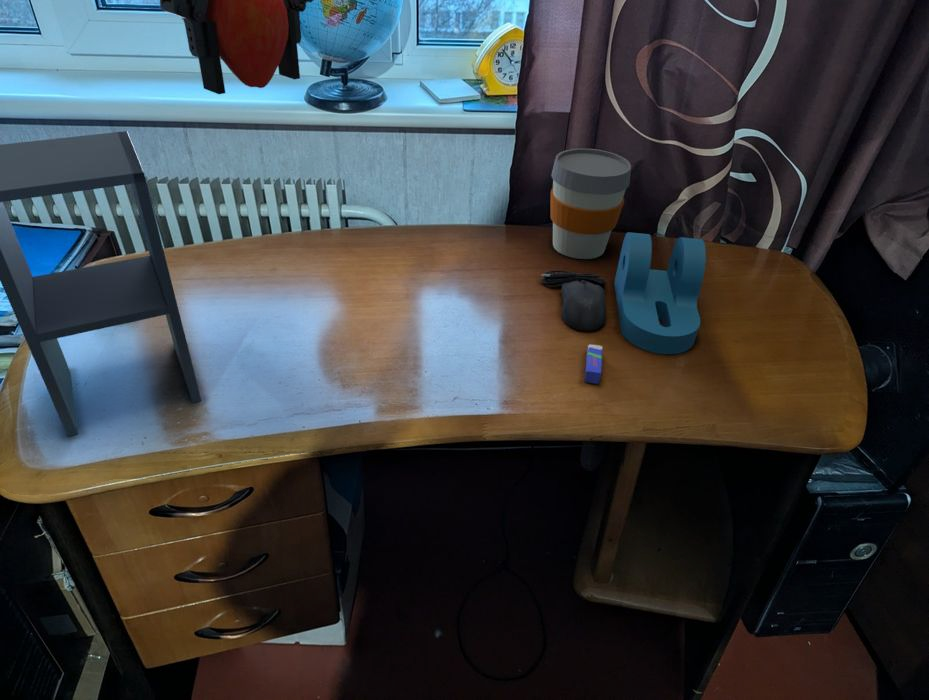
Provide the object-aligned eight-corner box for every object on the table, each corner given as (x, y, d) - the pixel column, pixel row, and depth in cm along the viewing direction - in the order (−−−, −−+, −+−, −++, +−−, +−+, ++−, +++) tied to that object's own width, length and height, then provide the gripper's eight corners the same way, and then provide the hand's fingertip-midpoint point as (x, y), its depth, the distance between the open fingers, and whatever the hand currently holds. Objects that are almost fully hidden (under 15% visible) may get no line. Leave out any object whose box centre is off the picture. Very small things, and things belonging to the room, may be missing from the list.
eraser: (601, 357, 88) (603, 345, 87) (599, 385, 83) (601, 372, 82) (586, 355, 88) (588, 343, 87) (583, 382, 84) (585, 370, 82)
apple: (195, 84, 69) (174, -35, 63) (265, 72, 74) (251, -39, 68) (241, 102, 65) (223, -23, 58) (311, 88, 70) (302, -28, 64)
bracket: (614, 282, 104) (627, 221, 98) (681, 289, 103) (699, 228, 97) (622, 349, 90) (638, 283, 83) (700, 358, 89) (722, 292, 83)
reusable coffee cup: (630, 250, 113) (649, 166, 104) (581, 272, 106) (597, 183, 97) (575, 223, 120) (589, 142, 112) (527, 242, 114) (537, 157, 105)
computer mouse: (549, 331, 92) (553, 308, 90) (539, 278, 104) (542, 257, 102) (621, 334, 93) (626, 311, 90) (602, 280, 104) (607, 259, 102)
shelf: (201, 400, 77) (143, 171, 61) (67, 437, 72) (-37, 195, 55) (182, 345, 86) (127, 130, 69) (61, 374, 80) (-32, 147, 63)
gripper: (291, -184, 65) (311, 61, 78) (67, -209, 51) (138, 93, 64) (342, -184, 61) (354, 74, 74) (114, -211, 47) (179, 111, 61)
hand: (253, 83), depth 69 cm, fingers closed on apple, 8 cm apart
